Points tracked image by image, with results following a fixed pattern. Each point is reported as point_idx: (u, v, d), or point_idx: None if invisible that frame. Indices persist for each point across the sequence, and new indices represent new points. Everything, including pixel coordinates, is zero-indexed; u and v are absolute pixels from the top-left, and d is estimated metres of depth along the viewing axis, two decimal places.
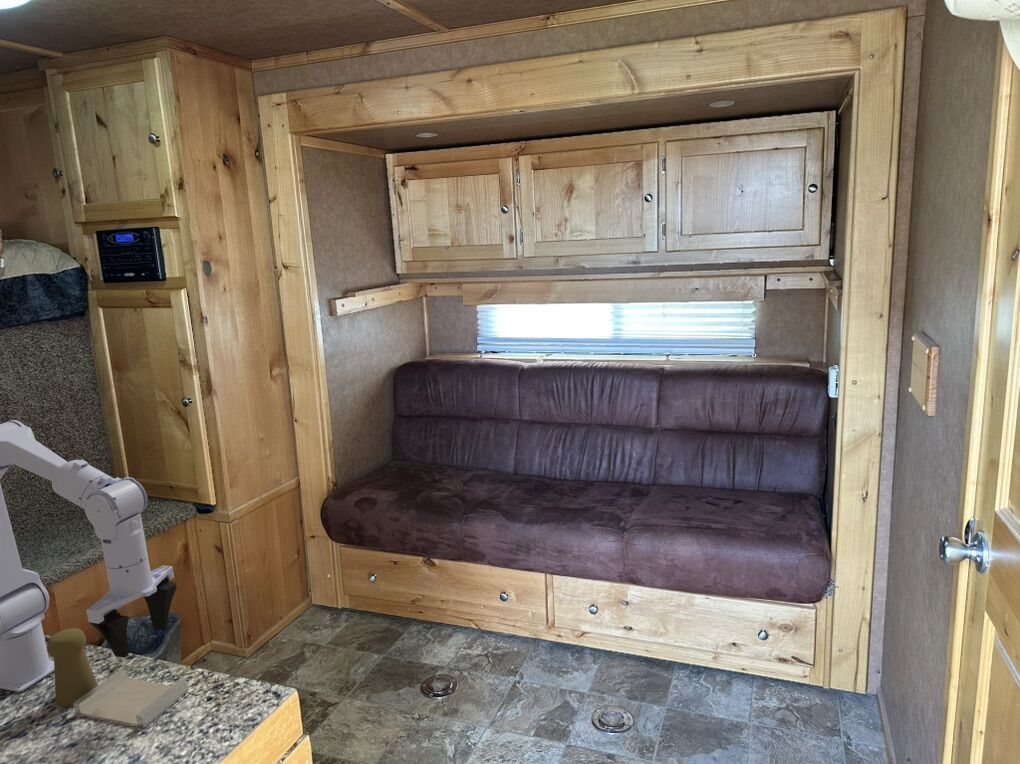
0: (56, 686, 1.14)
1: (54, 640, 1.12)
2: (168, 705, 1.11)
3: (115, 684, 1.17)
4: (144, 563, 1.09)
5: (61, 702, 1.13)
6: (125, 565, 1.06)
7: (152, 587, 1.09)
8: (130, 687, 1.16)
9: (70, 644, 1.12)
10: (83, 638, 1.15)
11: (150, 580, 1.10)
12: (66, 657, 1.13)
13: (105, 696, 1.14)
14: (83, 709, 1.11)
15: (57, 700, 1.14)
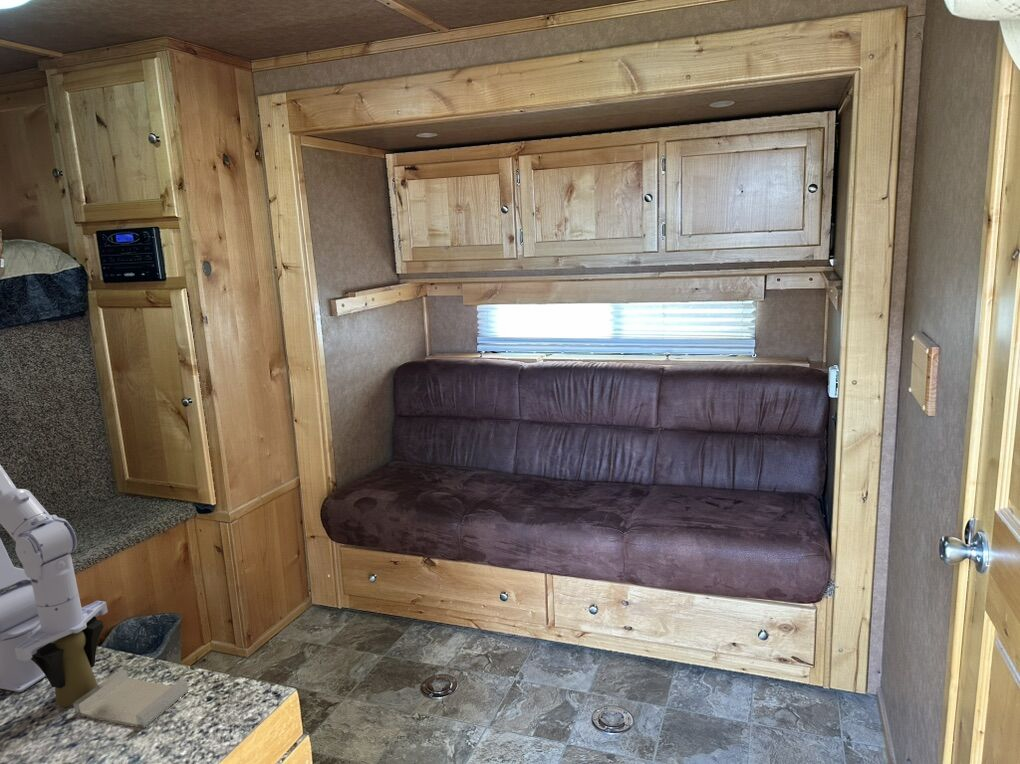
0: None
1: None
2: (168, 705, 1.11)
3: (115, 684, 1.17)
4: (74, 601, 1.12)
5: (61, 702, 1.13)
6: (51, 604, 1.10)
7: (82, 624, 1.13)
8: (130, 687, 1.16)
9: (70, 644, 1.12)
10: (83, 638, 1.15)
11: (80, 617, 1.14)
12: (66, 657, 1.13)
13: (105, 696, 1.14)
14: (83, 709, 1.11)
15: (57, 700, 1.14)
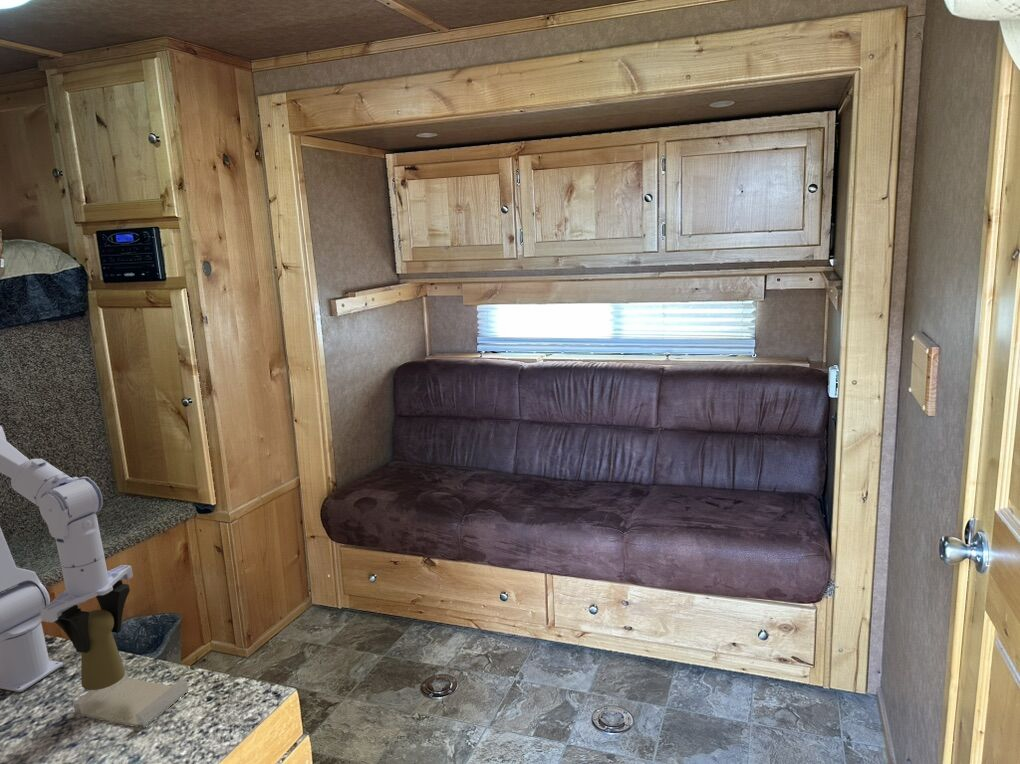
0: (82, 668, 1.11)
1: None
2: (168, 705, 1.11)
3: (115, 684, 1.17)
4: (100, 562, 1.09)
5: (86, 685, 1.10)
6: (78, 564, 1.06)
7: (108, 586, 1.09)
8: (130, 687, 1.16)
9: (97, 626, 1.09)
10: (111, 621, 1.11)
11: (106, 579, 1.10)
12: (93, 640, 1.10)
13: (105, 696, 1.14)
14: (83, 709, 1.11)
15: (83, 682, 1.11)
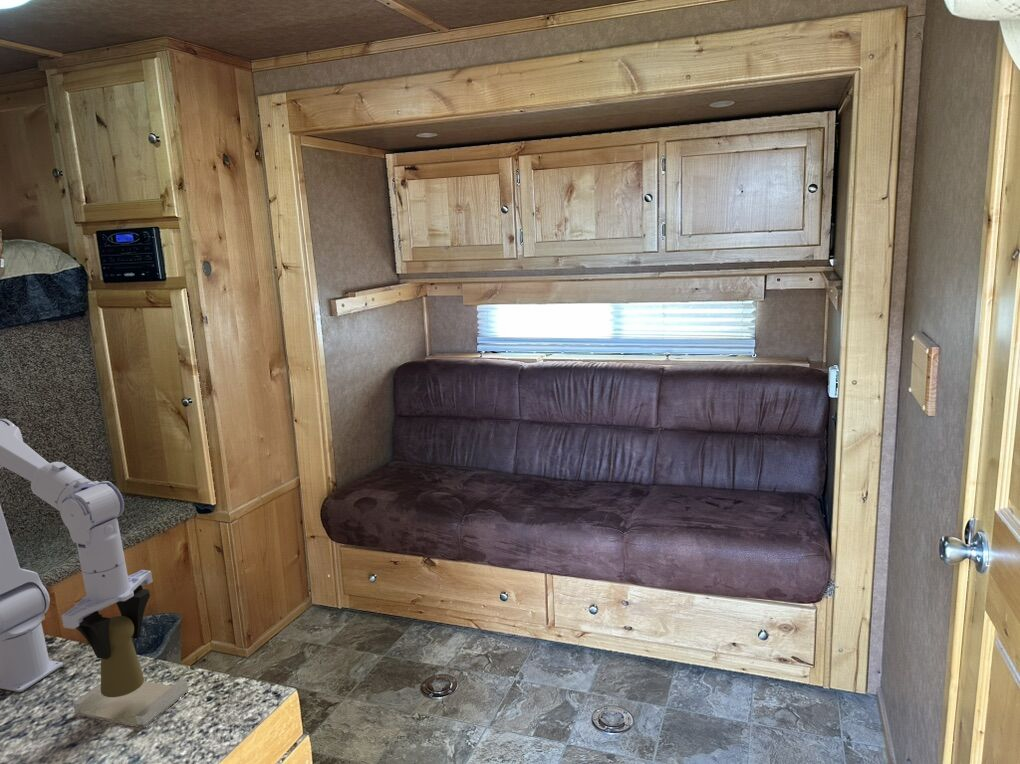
0: (102, 675, 1.10)
1: None
2: (168, 705, 1.11)
3: None
4: (121, 568, 1.08)
5: (106, 692, 1.09)
6: (99, 570, 1.05)
7: (129, 592, 1.08)
8: None
9: (118, 633, 1.08)
10: (131, 628, 1.10)
11: (127, 585, 1.09)
12: (114, 647, 1.09)
13: (105, 696, 1.14)
14: (83, 709, 1.11)
15: (102, 689, 1.10)
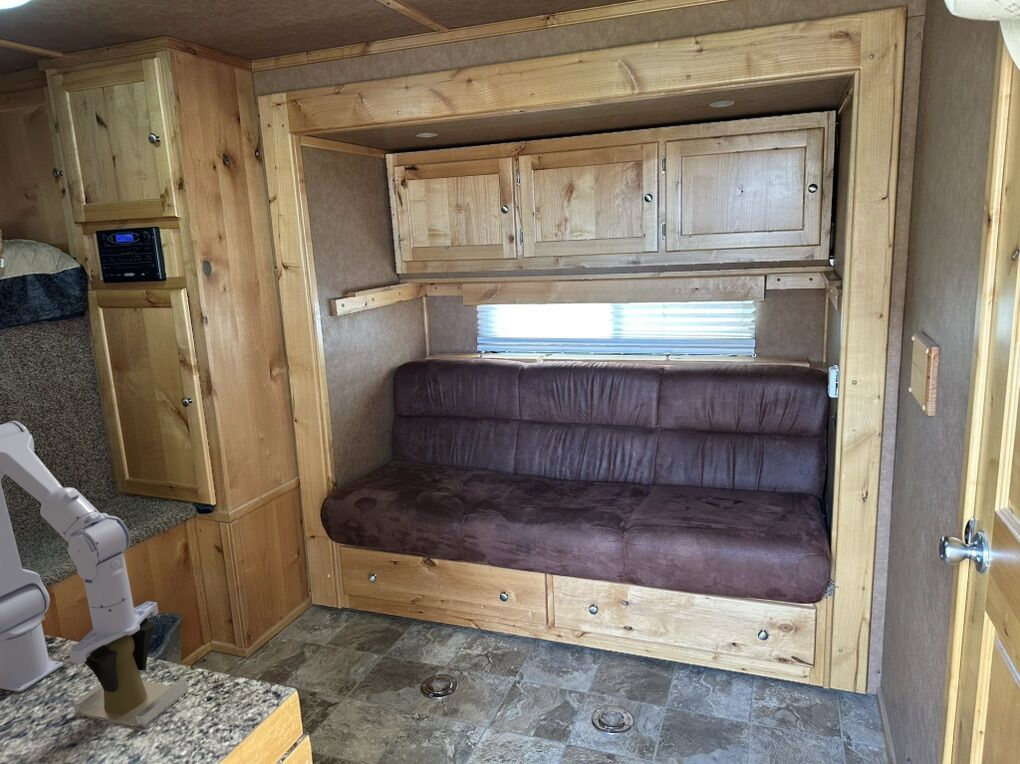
0: (104, 692, 1.10)
1: None
2: (168, 705, 1.11)
3: None
4: (127, 602, 1.09)
5: (109, 709, 1.10)
6: (106, 605, 1.06)
7: (135, 625, 1.09)
8: None
9: (119, 649, 1.09)
10: (132, 643, 1.11)
11: (133, 618, 1.10)
12: None
13: None
14: (83, 709, 1.11)
15: (105, 706, 1.10)
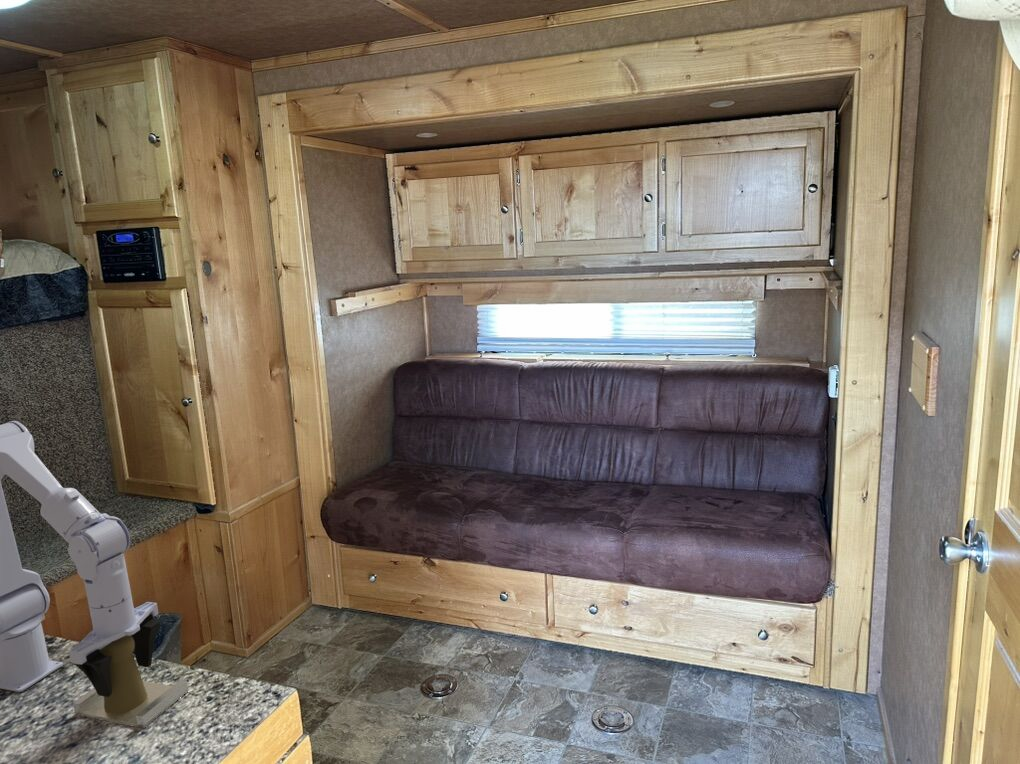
0: None
1: None
2: (168, 705, 1.11)
3: None
4: (127, 602, 1.09)
5: (109, 709, 1.10)
6: (106, 605, 1.06)
7: (135, 626, 1.09)
8: None
9: (119, 649, 1.09)
10: (132, 643, 1.11)
11: (133, 618, 1.10)
12: (115, 663, 1.09)
13: None
14: (83, 709, 1.11)
15: (105, 706, 1.10)
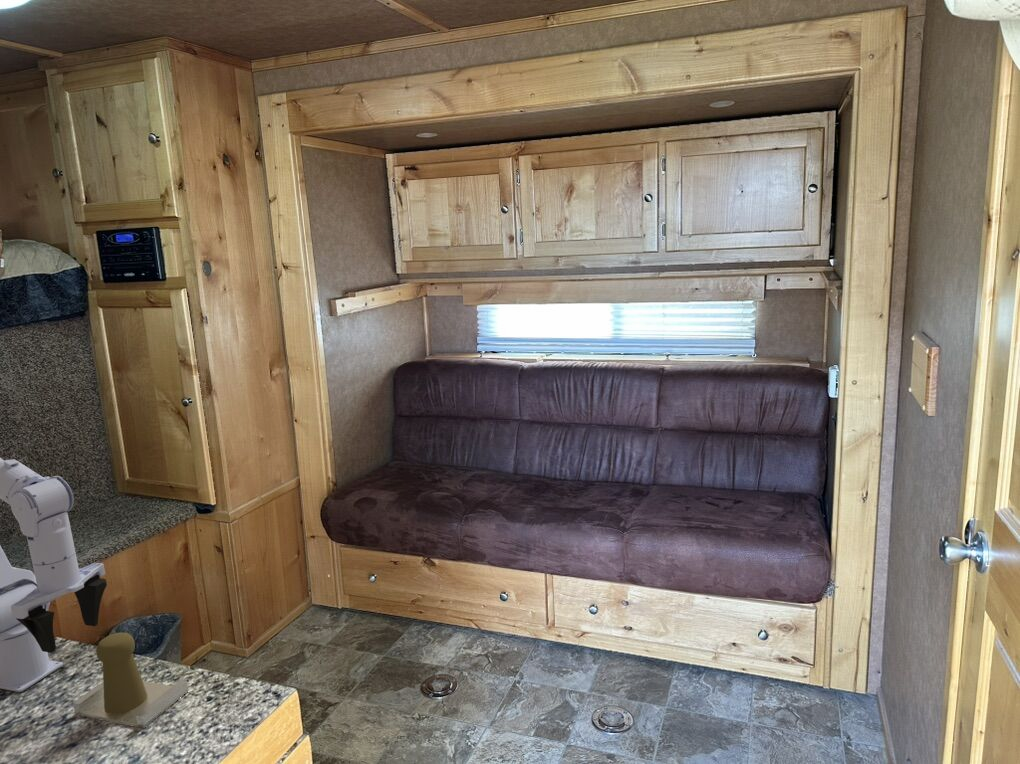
0: (105, 692, 1.10)
1: (103, 644, 1.09)
2: (168, 705, 1.11)
3: None
4: (71, 560, 1.11)
5: (109, 709, 1.10)
6: (48, 562, 1.08)
7: (79, 583, 1.11)
8: None
9: (119, 649, 1.09)
10: (132, 643, 1.11)
11: (77, 576, 1.12)
12: (115, 663, 1.09)
13: None
14: (83, 709, 1.11)
15: (105, 706, 1.10)
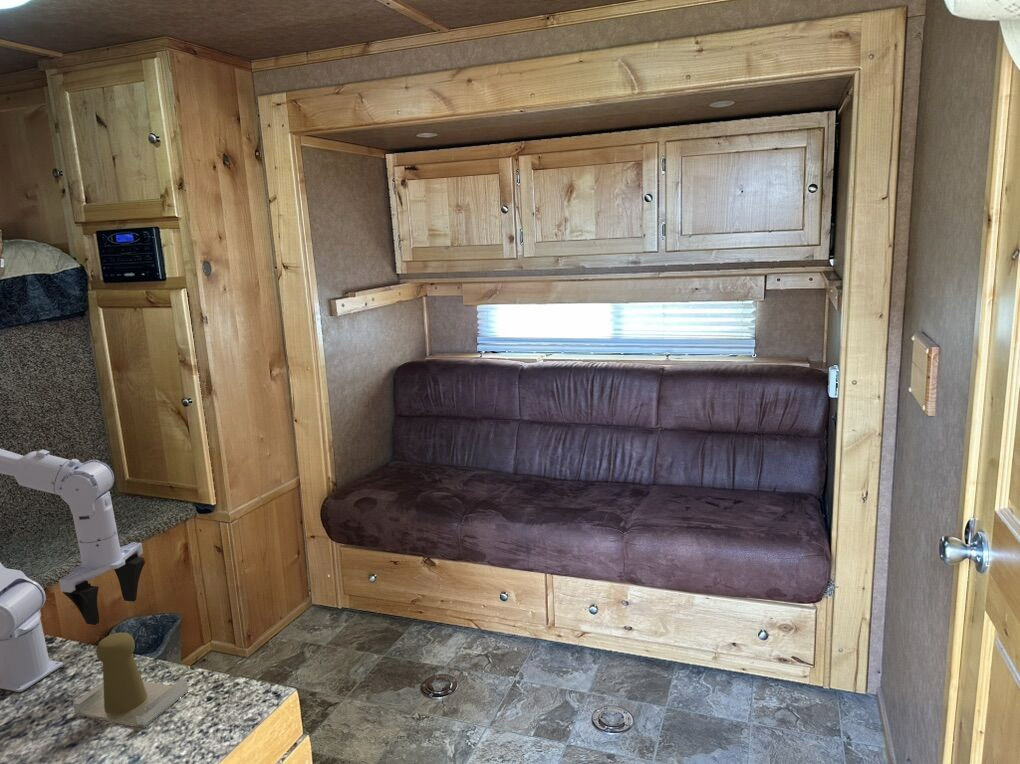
0: (105, 692, 1.10)
1: (103, 644, 1.09)
2: (168, 705, 1.11)
3: None
4: (113, 538, 1.18)
5: (109, 709, 1.10)
6: (103, 538, 1.16)
7: (121, 560, 1.19)
8: None
9: (119, 649, 1.09)
10: (132, 643, 1.11)
11: (119, 554, 1.19)
12: (115, 663, 1.09)
13: None
14: (83, 709, 1.11)
15: (105, 706, 1.10)
